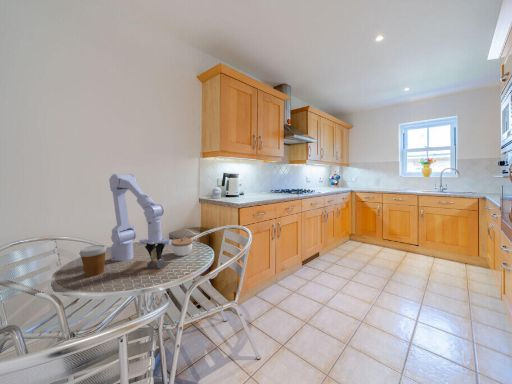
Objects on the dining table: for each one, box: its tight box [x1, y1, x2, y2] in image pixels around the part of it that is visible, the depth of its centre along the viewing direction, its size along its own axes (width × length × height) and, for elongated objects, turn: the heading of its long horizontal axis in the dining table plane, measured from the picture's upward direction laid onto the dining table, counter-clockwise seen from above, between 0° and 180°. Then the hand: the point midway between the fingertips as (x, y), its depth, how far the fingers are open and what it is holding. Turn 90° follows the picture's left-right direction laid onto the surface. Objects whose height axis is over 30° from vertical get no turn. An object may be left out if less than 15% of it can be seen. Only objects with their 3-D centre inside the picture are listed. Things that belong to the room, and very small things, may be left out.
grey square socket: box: [145, 257, 168, 269], centre depth 101 cm, size 7×7×3 cm
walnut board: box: [116, 260, 172, 276], centre depth 100 cm, size 18×14×1 cm
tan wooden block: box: [150, 248, 161, 263], centre depth 101 cm, size 2×4×7 cm, turn 176°
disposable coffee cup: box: [78, 244, 108, 278], centre depth 94 cm, size 10×10×12 cm
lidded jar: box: [171, 237, 193, 257], centre depth 117 cm, size 11×11×9 cm
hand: (156, 259), depth 101 cm, fingers closed on tan wooden block, 2 cm apart
